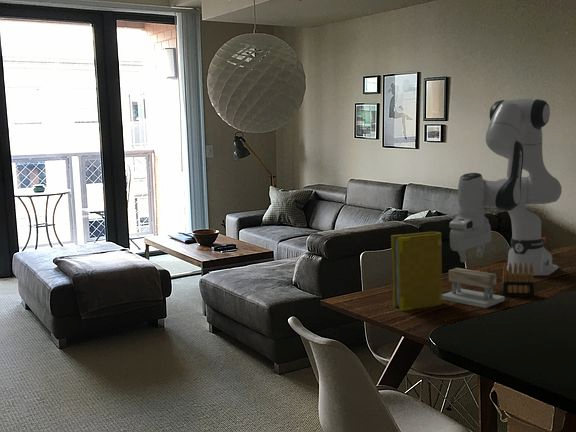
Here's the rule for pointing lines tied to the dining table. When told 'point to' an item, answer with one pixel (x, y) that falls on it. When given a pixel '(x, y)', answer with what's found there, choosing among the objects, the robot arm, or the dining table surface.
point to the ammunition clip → (518, 281)
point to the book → (417, 270)
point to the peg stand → (472, 296)
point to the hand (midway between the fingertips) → (471, 259)
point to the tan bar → (472, 277)
